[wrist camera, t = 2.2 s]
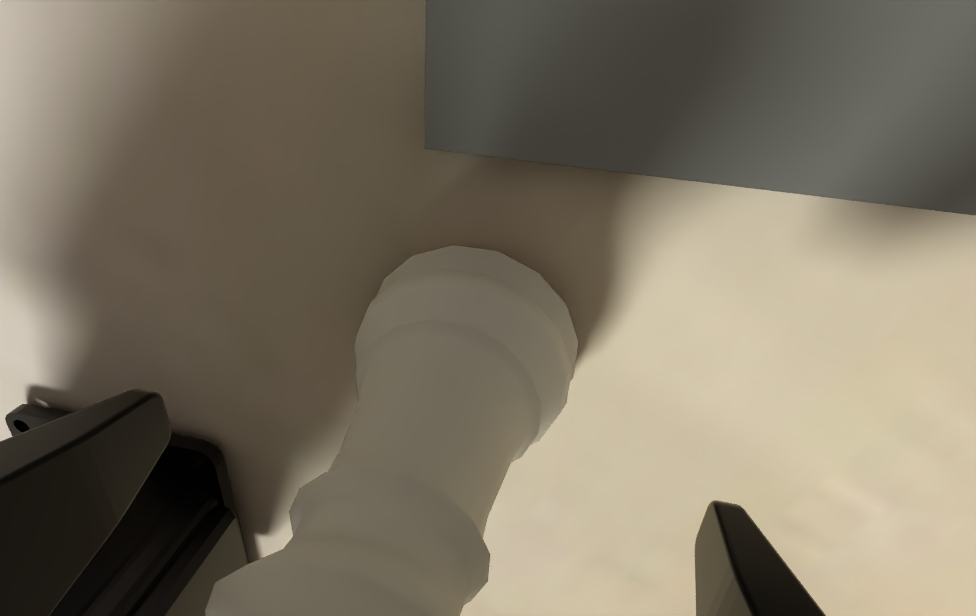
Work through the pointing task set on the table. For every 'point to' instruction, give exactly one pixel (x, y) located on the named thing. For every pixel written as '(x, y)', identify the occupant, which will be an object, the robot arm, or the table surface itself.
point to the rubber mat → (717, 92)
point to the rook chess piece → (421, 444)
